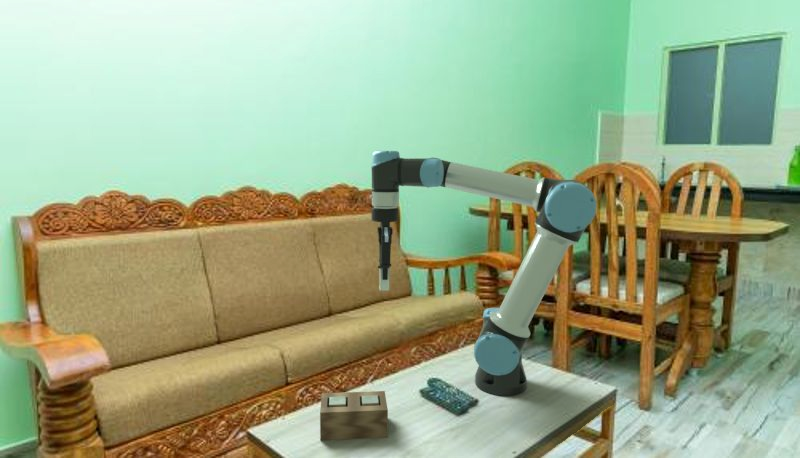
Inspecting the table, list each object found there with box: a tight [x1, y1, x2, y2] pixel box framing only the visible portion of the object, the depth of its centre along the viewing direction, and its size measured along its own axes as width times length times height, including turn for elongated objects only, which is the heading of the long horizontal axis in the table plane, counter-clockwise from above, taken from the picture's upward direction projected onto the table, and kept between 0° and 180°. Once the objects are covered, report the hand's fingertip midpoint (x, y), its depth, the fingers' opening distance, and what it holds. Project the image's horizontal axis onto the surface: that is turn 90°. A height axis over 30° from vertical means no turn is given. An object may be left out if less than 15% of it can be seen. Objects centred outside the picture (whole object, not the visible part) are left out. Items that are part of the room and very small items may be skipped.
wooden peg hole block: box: [319, 390, 389, 441], centre depth 129 cm, size 16×10×7 cm, turn 96°
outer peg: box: [329, 396, 346, 407], centre depth 128 cm, size 4×4×6 cm
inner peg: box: [362, 395, 379, 406], centre depth 129 cm, size 4×4×6 cm
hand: (384, 289), depth 147 cm, fingers closed
